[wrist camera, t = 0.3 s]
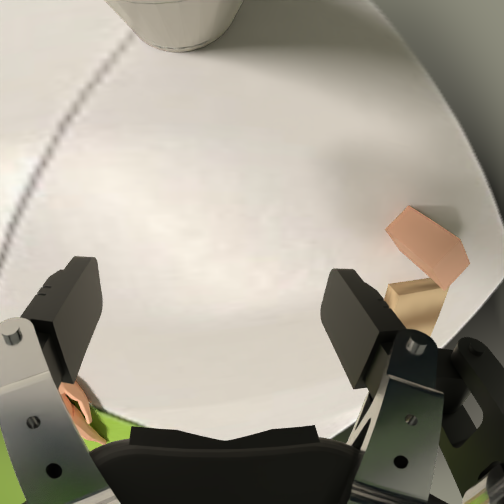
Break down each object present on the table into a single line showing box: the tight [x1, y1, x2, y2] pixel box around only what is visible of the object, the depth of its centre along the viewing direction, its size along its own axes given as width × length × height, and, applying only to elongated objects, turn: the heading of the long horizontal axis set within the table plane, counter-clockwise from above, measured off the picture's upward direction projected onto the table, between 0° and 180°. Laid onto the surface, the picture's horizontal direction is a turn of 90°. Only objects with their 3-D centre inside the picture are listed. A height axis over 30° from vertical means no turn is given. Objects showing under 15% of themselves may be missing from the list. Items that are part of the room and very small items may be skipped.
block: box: [385, 206, 470, 291], centre depth 30 cm, size 4×4×9 cm
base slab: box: [384, 278, 449, 336], centre depth 39 cm, size 9×9×3 cm
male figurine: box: [58, 381, 107, 445], centre depth 36 cm, size 11×5×25 cm
